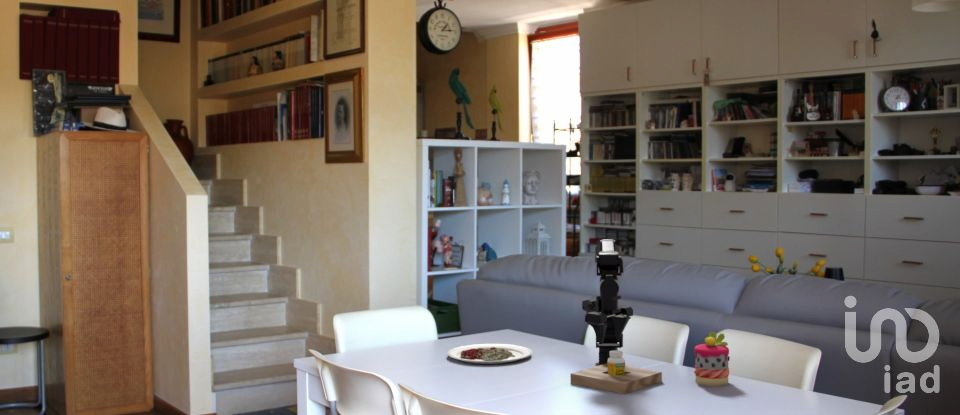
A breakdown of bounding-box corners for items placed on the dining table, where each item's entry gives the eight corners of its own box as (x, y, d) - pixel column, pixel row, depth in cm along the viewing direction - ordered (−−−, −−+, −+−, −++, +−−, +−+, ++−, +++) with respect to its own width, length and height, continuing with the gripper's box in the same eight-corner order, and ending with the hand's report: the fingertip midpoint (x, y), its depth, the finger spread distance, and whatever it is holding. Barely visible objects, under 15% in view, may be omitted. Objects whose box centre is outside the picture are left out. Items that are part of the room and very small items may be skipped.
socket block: (609, 371, 283) (608, 362, 283) (661, 381, 269) (661, 371, 269) (570, 383, 269) (570, 373, 269) (624, 393, 255) (624, 383, 255)
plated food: (549, 358, 306) (549, 349, 306) (478, 370, 289) (478, 360, 289) (499, 345, 330) (499, 336, 330) (431, 355, 314) (431, 346, 314)
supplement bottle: (617, 379, 273) (616, 349, 272) (628, 382, 268) (628, 351, 268) (604, 381, 270) (603, 351, 269) (615, 385, 265) (615, 354, 265)
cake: (728, 387, 261) (728, 337, 260) (692, 385, 264) (691, 336, 264) (730, 379, 270) (730, 331, 270) (696, 377, 274) (695, 330, 273)
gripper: (605, 286, 285) (605, 333, 286) (570, 293, 272) (570, 343, 273) (633, 289, 278) (634, 338, 279) (599, 297, 264) (599, 348, 265)
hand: (609, 341), depth 274 cm, fingers open, 9 cm apart
